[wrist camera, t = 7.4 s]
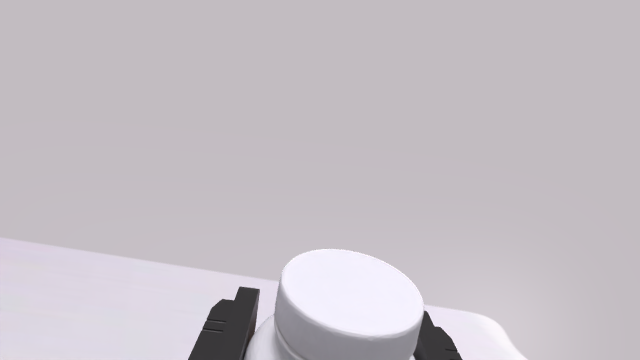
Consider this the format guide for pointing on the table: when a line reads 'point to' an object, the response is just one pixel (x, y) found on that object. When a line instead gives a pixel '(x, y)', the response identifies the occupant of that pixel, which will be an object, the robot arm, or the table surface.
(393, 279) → the supplement bottle
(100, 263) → the table surface
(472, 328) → the table surface
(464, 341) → the table surface
